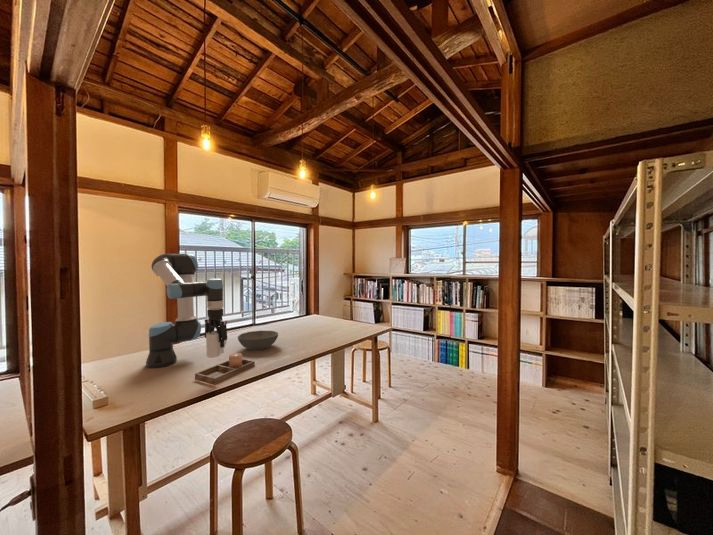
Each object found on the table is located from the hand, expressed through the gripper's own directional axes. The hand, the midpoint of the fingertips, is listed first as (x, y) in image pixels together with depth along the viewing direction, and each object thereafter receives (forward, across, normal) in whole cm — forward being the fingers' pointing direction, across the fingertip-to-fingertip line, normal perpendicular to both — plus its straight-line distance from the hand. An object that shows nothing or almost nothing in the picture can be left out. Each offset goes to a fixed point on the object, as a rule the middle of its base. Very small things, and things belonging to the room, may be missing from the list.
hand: (216, 352), depth 153 cm
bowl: (+13, -15, +46) cm, 50 cm away
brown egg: (+12, 0, +13) cm, 18 cm away
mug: (+1, 0, 0) cm, 2 cm away
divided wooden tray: (+13, 0, +6) cm, 15 cm away
